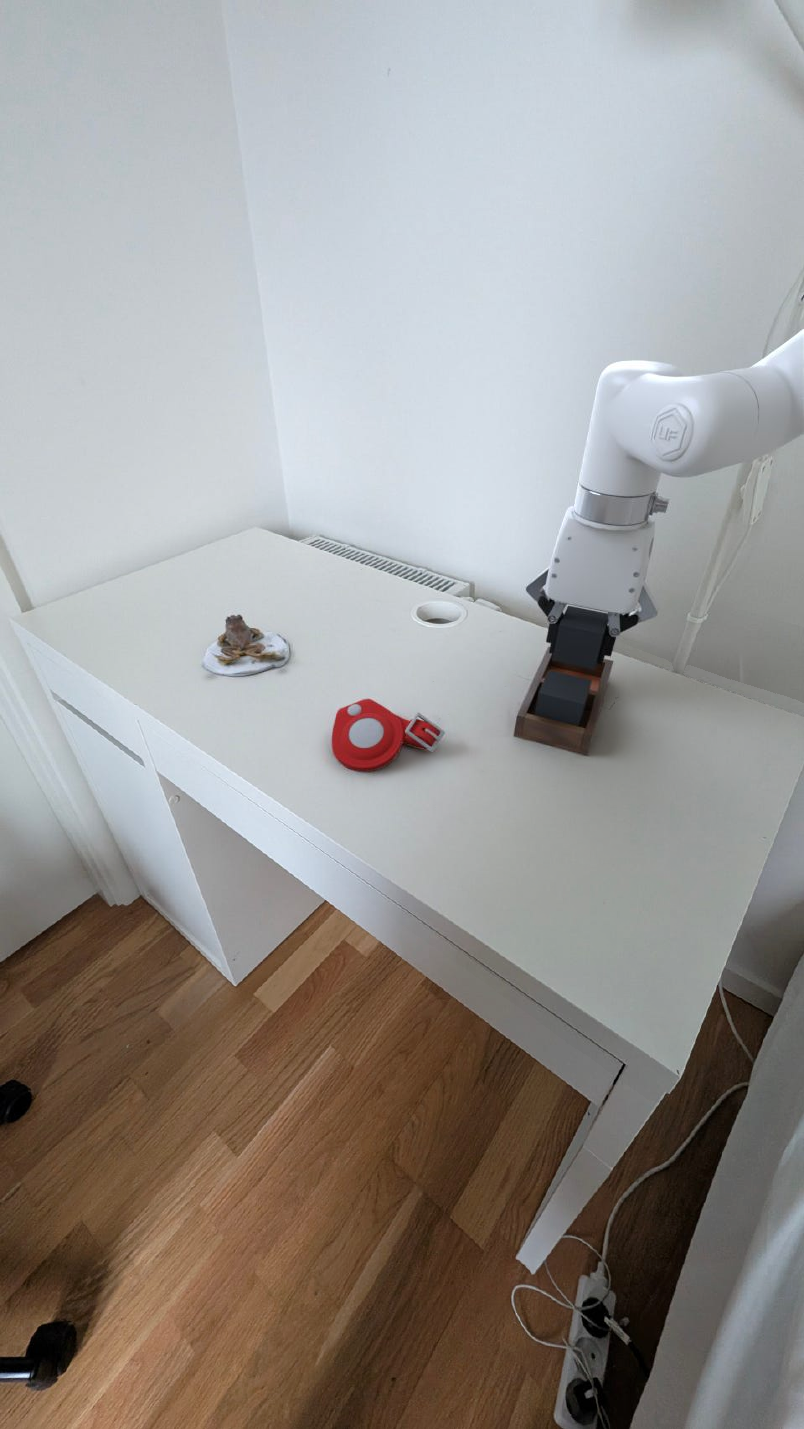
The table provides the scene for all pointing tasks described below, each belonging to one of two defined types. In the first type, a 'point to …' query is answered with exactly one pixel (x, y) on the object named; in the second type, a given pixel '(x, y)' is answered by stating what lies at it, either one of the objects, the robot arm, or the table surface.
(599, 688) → the frame
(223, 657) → the frog figurine
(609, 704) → the table surface
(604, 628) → the dark grey block
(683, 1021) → the table surface
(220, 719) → the table surface
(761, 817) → the table surface
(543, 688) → the dark grey cube
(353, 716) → the tracker holder
